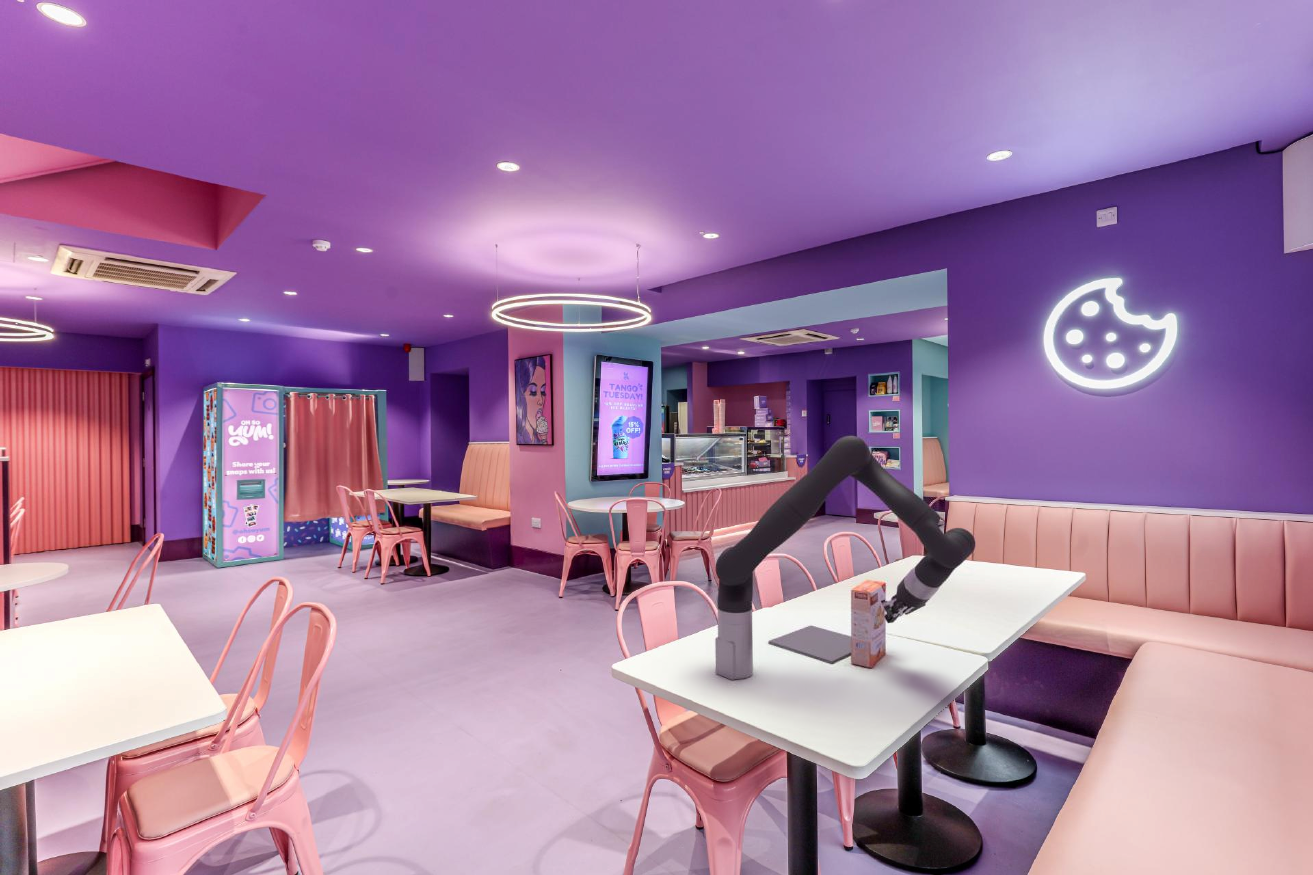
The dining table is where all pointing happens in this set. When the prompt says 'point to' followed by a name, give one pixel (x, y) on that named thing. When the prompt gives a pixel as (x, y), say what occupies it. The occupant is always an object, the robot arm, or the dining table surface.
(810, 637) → the mat
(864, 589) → the cracker box
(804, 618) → the dining table surface
